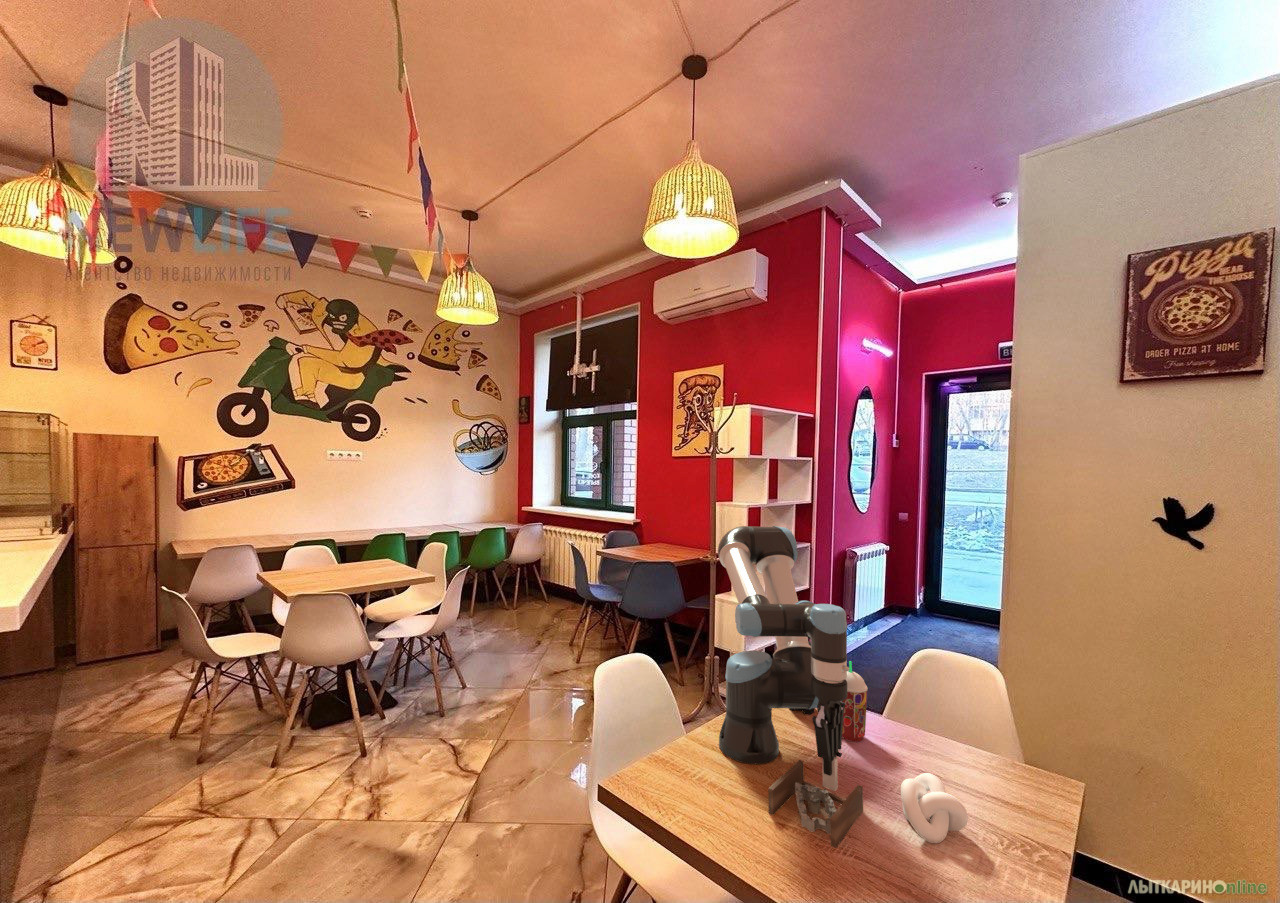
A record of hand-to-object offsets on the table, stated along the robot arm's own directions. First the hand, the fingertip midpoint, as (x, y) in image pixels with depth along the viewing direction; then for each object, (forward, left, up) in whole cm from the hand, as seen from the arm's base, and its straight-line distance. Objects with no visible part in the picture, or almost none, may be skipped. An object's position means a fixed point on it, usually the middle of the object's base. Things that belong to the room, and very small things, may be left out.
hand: (830, 787), depth 107 cm
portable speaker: (-23, +36, -2) cm, 42 cm away
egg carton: (0, -8, -2) cm, 9 cm away
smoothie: (-6, +30, -2) cm, 30 cm away
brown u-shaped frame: (0, -7, -2) cm, 8 cm away
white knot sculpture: (+18, +5, -2) cm, 19 cm away
